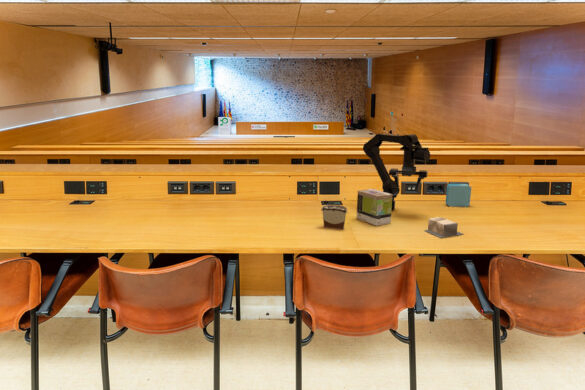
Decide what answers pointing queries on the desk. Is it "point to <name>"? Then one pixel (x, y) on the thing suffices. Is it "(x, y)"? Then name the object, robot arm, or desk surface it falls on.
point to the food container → (334, 216)
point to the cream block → (442, 226)
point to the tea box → (374, 206)
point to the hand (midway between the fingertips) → (407, 189)
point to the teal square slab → (458, 195)
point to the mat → (442, 235)
